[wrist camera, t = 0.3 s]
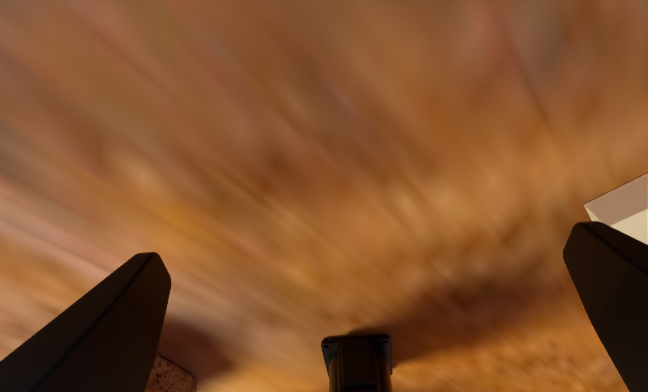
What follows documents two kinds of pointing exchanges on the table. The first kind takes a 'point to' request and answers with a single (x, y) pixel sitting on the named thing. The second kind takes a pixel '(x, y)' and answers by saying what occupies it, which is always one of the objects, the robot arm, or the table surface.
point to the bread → (169, 378)
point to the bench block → (624, 208)
